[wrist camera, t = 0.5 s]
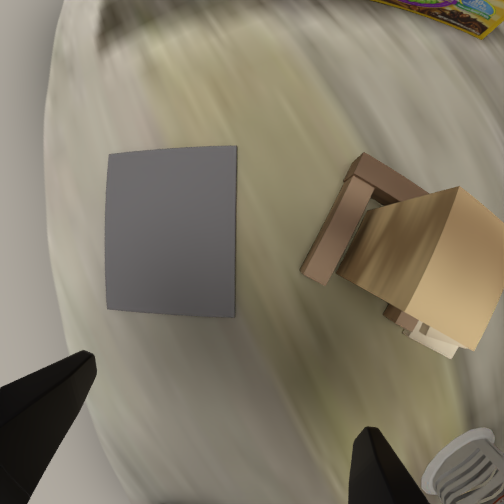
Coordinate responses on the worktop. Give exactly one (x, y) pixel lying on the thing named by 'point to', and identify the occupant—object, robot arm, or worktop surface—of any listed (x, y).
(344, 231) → the rack
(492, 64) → the worktop surface
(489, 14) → the candy box
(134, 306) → the mat
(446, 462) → the french press
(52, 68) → the worktop surface
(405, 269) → the tall oak offcut
